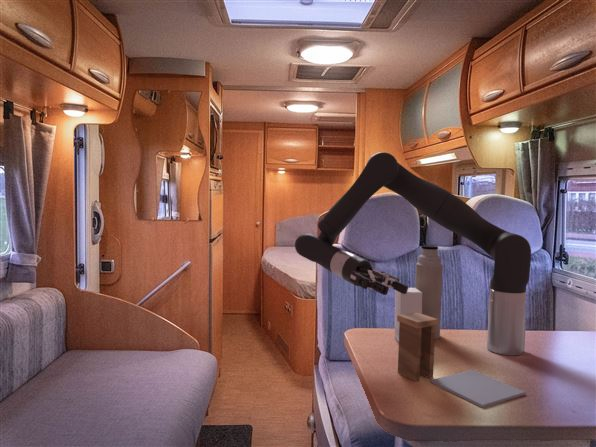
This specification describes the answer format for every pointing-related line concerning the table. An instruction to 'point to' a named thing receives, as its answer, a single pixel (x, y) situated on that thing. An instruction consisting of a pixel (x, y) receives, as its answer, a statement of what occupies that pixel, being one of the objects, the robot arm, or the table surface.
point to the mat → (478, 388)
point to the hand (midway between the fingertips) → (397, 291)
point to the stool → (416, 345)
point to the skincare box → (407, 305)
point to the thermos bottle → (430, 283)
